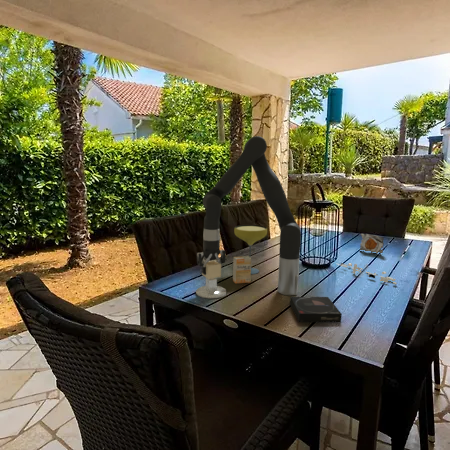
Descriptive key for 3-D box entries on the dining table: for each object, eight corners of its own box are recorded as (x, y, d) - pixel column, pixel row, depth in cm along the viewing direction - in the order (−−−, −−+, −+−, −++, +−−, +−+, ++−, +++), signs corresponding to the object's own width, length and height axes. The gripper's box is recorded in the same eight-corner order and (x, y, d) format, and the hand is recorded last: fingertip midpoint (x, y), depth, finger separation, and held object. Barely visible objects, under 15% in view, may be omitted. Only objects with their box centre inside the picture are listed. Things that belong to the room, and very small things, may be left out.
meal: (358, 252, 234) (359, 234, 231) (360, 251, 237) (361, 233, 235) (381, 256, 225) (383, 237, 223) (383, 255, 228) (385, 236, 226)
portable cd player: (326, 304, 148) (327, 296, 148) (340, 323, 132) (341, 313, 131) (289, 304, 148) (290, 296, 147) (298, 323, 131) (299, 313, 131)
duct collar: (214, 272, 162) (214, 260, 160) (220, 276, 156) (221, 264, 155) (201, 274, 159) (201, 262, 157) (207, 278, 153) (208, 266, 152)
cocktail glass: (227, 273, 187) (228, 228, 182) (241, 264, 203) (242, 223, 198) (258, 278, 179) (259, 232, 174) (270, 269, 194) (272, 226, 190)
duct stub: (217, 285, 168) (217, 272, 167) (231, 295, 156) (231, 281, 155) (191, 290, 162) (191, 276, 160) (203, 300, 149) (203, 285, 148)
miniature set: (332, 268, 196) (343, 267, 204) (394, 289, 170) (403, 287, 179) (335, 257, 195) (345, 257, 203) (397, 277, 170) (406, 276, 178)
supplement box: (235, 284, 170) (235, 259, 168) (232, 280, 175) (233, 256, 173) (250, 282, 173) (251, 258, 170) (247, 279, 177) (248, 255, 175)
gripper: (221, 235, 160) (221, 268, 164) (193, 238, 154) (193, 273, 157) (229, 238, 154) (228, 273, 157) (200, 241, 147) (200, 278, 150)
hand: (211, 273), depth 157 cm, fingers closed on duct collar, 6 cm apart
